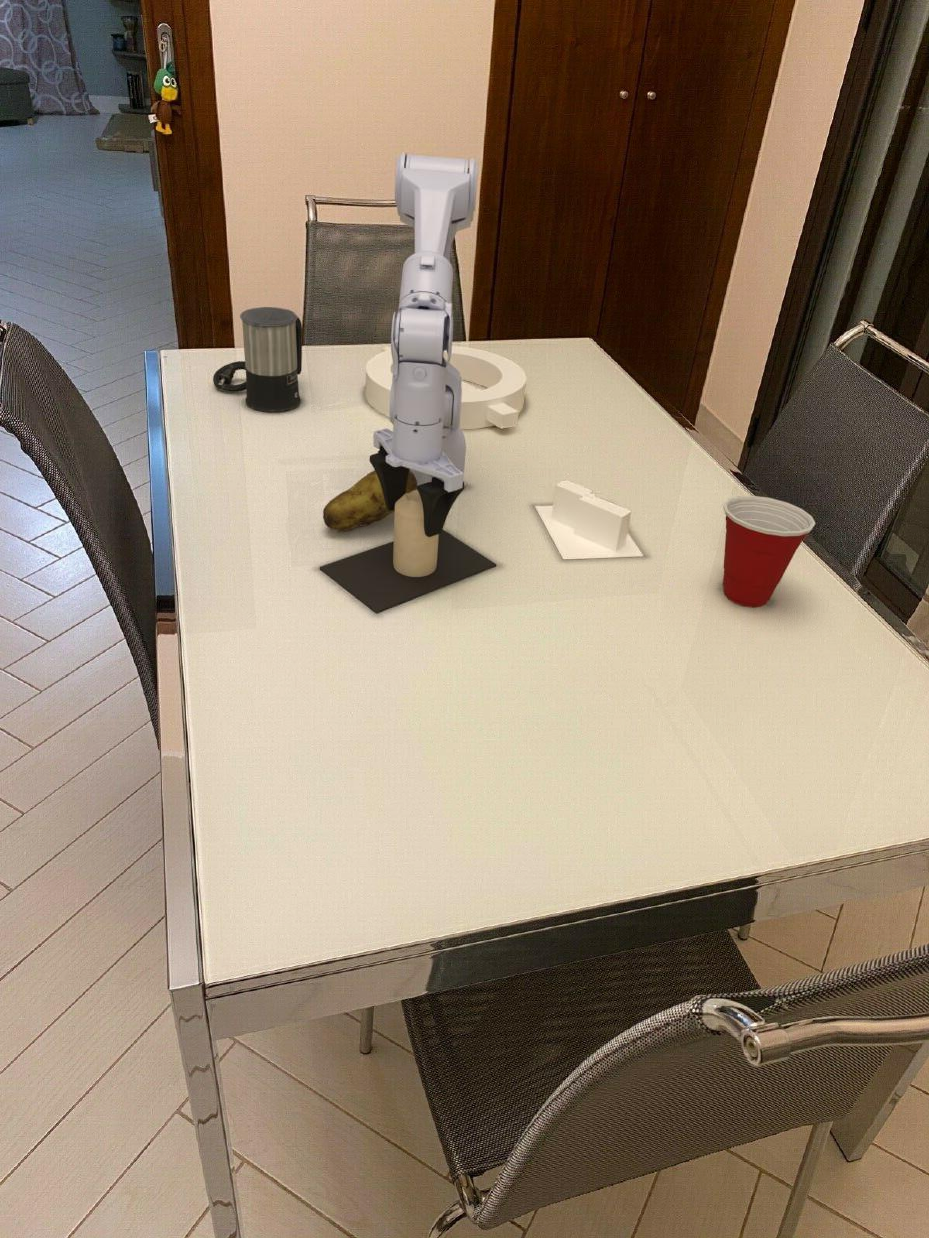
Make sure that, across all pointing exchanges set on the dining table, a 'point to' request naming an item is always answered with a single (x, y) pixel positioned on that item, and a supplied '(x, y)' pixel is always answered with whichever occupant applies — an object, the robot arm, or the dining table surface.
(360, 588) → the mat
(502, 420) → the white circle with bar
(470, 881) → the dining table surface
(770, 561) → the plastic cup
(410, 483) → the potato
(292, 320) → the milk frother
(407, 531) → the candle
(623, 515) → the napkin holder
